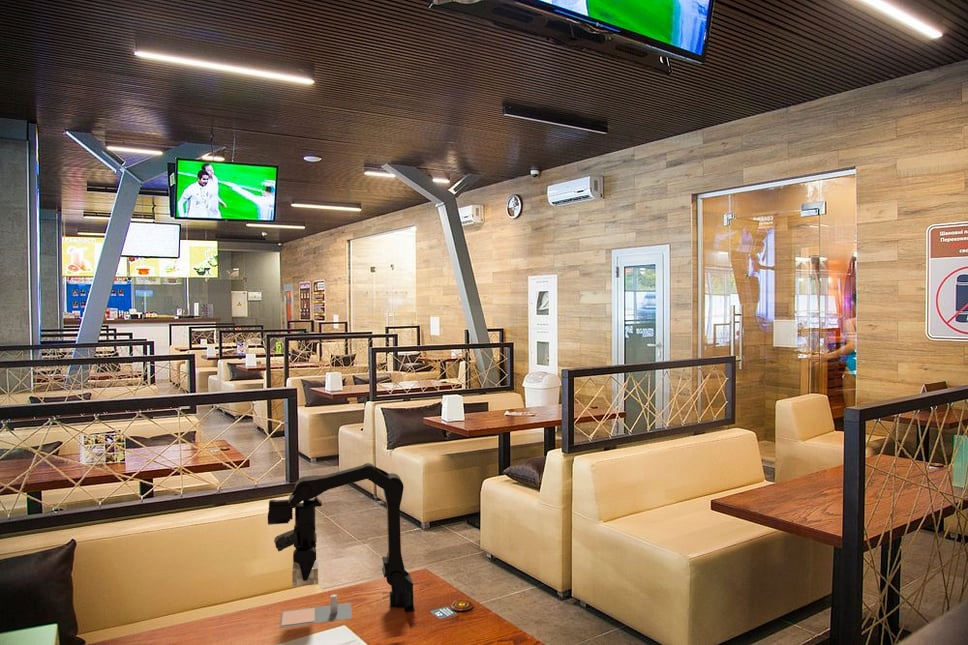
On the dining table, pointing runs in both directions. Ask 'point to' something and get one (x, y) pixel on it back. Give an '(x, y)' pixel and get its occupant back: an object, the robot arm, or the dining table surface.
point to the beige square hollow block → (297, 575)
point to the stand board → (316, 614)
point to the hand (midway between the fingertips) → (305, 575)
